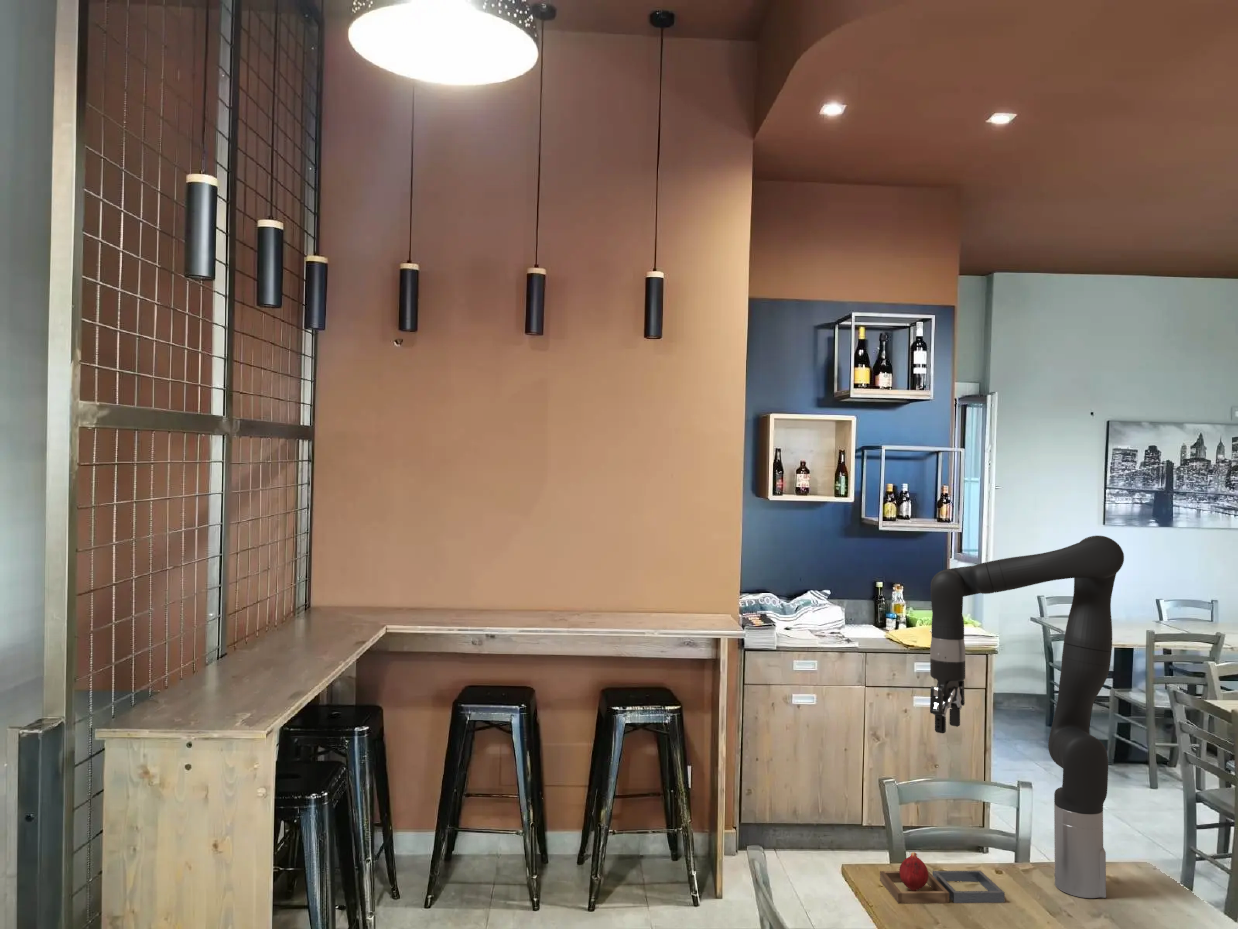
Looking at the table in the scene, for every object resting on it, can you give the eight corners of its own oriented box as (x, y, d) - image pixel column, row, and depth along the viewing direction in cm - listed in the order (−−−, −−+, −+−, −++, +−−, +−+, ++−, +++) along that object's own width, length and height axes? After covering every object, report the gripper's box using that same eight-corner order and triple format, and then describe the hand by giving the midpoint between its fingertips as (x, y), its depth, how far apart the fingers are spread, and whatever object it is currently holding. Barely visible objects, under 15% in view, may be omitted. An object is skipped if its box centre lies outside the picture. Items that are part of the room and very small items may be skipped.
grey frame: (980, 880, 189) (980, 870, 189) (1004, 902, 178) (1004, 892, 178) (932, 880, 188) (932, 871, 188) (953, 903, 177) (953, 893, 178)
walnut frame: (928, 880, 188) (928, 871, 188) (949, 903, 177) (949, 893, 178) (879, 880, 187) (879, 871, 188) (898, 903, 177) (898, 893, 177)
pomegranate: (930, 899, 179) (930, 859, 179) (901, 896, 180) (901, 857, 180) (926, 887, 185) (925, 848, 185) (897, 884, 186) (897, 846, 186)
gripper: (952, 663, 191) (952, 738, 190) (975, 656, 202) (975, 726, 201) (918, 659, 196) (918, 732, 196) (943, 651, 207) (943, 720, 206)
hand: (947, 729), depth 198 cm, fingers open, 8 cm apart
